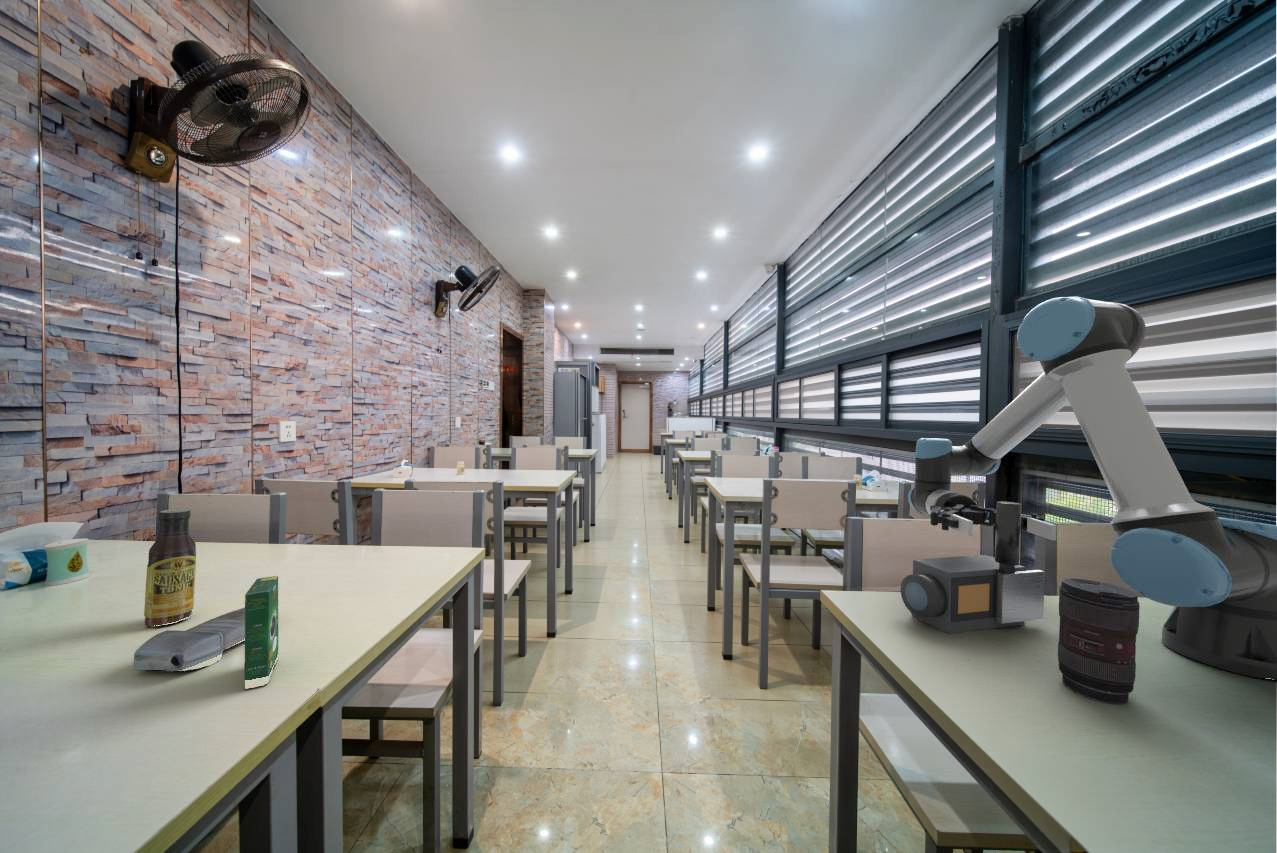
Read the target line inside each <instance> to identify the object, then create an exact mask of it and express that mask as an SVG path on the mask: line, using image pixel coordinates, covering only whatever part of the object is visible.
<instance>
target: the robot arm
mask: <svg viewBox="0 0 1277 853" xmlns="http://www.w3.org/2000/svg"><path fill="white" fill-rule="evenodd" d="M1146 328H1147V327H1146V322H1145V319H1144V318H1143V316H1142V315H1141V314H1140V313H1139V312H1138V310H1136V309H1134V308H1133V307H1131V306H1129V305H1127V304H1125V303H1119V302H1113V301H1103V300H1098V299H1097V300H1096V299H1089V298H1085V297H1081V296H1067V297H1066V296H1060V297H1054V298H1050V299H1048V300H1045V301H1043V302H1041V303H1039V304H1037V305H1036V306H1035V307H1033V308H1032V309H1031V310H1030V311H1029V312H1028V313H1027V314H1026V315H1025V316H1024V318H1023V320H1022V323H1021V324H1020V325H1019V326H1018V330H1017V334H1016V336H1017V337H1016V339H1017V340H1016V341H1017V342H1016V343H1017V346H1018V348H1019V350H1020V351H1021V352H1022V353H1023V354H1024V355H1025V356H1026V357H1028V358H1029V359H1031V360H1034V361H1039V363H1040V365H1041V368H1042V370H1043V372H1042V374H1040V375H1039V376H1038V377H1037V378H1036V379H1035V380H1034V381H1032V382H1031V384H1029V385H1028V386H1027V387H1026V388H1025V389H1024V390H1023V391H1022V392H1021V393H1020V394H1018V395H1017V397H1015V398H1014V399H1013V400H1012V401H1011V402H1010V403H1009V404H1008V405H1006V406H1005V407H1004V408H1003V409H1002V410H1001V411H1000V412H999V413H998V414H997V415H996V416H995V417H994V418H992V419H991V420H990V421H989V422H988V423H987V424H986V425H985V426H984V427H982V428H981V430H979V431H978V432H977V433H976V434H975V435H974V436H973V437H972V438H970V440H968V441H967V442H965V444H964V445H953V442H952V440H951V439H949V438H939V437H938V438H932V437H931V438H929V437H925V438H924V437H921V438H919V439H917V441H916V443H915V444H916V446H915V453H914V456H915V460H914V461H915V462H914V463H915V464H914V465H915V466H914V471H915V472H914V479H915V480H914V485H913V486H912V487H911V488H910V490H909V491H908V494H907V501H908V503H909V505H910V506H911V508H913V510H915V511H916V512H917V513H919V514H921V515H923V516H926V517H929V518H930V525H931V526H938V525H939V524H941V530H942V531H949V528H950V529H952V530H954V531H957V532H959V533H961V534H964V535H966V536H968V537H973V535H974V533H973V532H974V531H973V530H974V529H973V528H974V526H976V525H977V526H978V525H983V526H987V527H994V526H996V508H988V507H982V506H981V505H978V504H977V503H976V501H975V499H973V498H971V497H970V496H967V495H965V494H962V493H960V492H959V493H958V492H955V491H952V490H951V484H952V477H963V476H964V477H965V476H966V477H967V476H970V477H983V476H987V475H992V474H993V473H996V471H998V470H999V468H1000V465H1001V461H1002V460H1001V459H1002V458H1003V457H1004V456H1005V455H1007V454H1008V453H1009V452H1010V451H1011V450H1012V449H1014V448H1015V447H1016V446H1018V444H1021V442H1022V441H1023V440H1025V439H1026V438H1027V437H1028V436H1029V435H1031V434H1032V433H1033V432H1034V431H1036V430H1037V429H1038V428H1039V427H1041V426H1042V425H1043V424H1044V423H1046V422H1047V420H1048V421H1049V419H1051V417H1053V416H1054V415H1055V414H1056V413H1057V412H1058V411H1061V410H1062V408H1064V407H1065V406H1066V405H1068V404H1070V407H1071V408H1072V411H1073V413H1074V415H1075V418H1076V420H1077V423H1078V424H1079V427H1080V428H1081V431H1082V433H1083V436H1084V437H1085V440H1086V443H1087V444H1088V447H1089V449H1090V451H1091V453H1092V455H1093V458H1094V460H1095V462H1096V464H1097V467H1098V468H1099V471H1100V474H1101V476H1102V478H1103V480H1104V483H1105V484H1106V486H1107V489H1108V491H1109V493H1110V496H1111V499H1112V500H1113V502H1114V505H1115V506H1116V509H1117V513H1116V514H1115V515H1114V517H1113V518H1112V520H1111V521H1110V525H1111V527H1112V529H1113V531H1114V534H1115V536H1116V539H1115V540H1114V544H1113V546H1112V547H1111V548H1110V555H1109V556H1110V561H1111V562H1110V563H1111V566H1112V567H1113V570H1114V571H1115V573H1116V574H1117V576H1118V577H1119V579H1121V581H1122V582H1123V583H1124V584H1125V585H1126V586H1127V587H1128V588H1130V589H1131V590H1132V591H1133V592H1134V593H1136V594H1140V595H1141V596H1143V597H1144V598H1147V599H1148V600H1151V601H1154V602H1156V603H1159V604H1163V605H1167V606H1172V607H1173V608H1172V610H1171V611H1170V614H1169V615H1168V617H1167V619H1166V620H1165V622H1164V624H1163V626H1162V628H1161V642H1162V644H1164V645H1165V646H1166V647H1167V648H1168V649H1171V651H1173V652H1176V653H1178V654H1180V655H1182V656H1184V657H1187V658H1189V659H1191V660H1194V661H1197V662H1199V663H1202V664H1206V665H1208V666H1212V667H1214V668H1218V669H1221V670H1224V671H1227V672H1233V673H1236V674H1239V675H1244V676H1247V677H1248V676H1249V677H1252V678H1257V679H1261V678H1271V679H1274V680H1277V524H1270V523H1262V522H1254V521H1248V520H1240V519H1235V518H1234V519H1233V518H1227V517H1221V516H1219V517H1218V515H1217V514H1216V511H1215V510H1214V508H1211V507H1209V506H1206V505H1203V504H1201V503H1199V502H1196V501H1195V500H1194V499H1193V498H1192V496H1191V494H1190V492H1189V490H1188V488H1187V485H1186V484H1185V482H1184V480H1183V478H1182V476H1181V474H1180V472H1179V470H1178V469H1177V466H1176V465H1175V462H1174V461H1173V458H1172V456H1171V454H1170V453H1169V450H1168V448H1167V447H1166V444H1165V443H1164V441H1163V439H1162V436H1161V435H1160V433H1159V431H1158V429H1157V426H1156V425H1155V423H1154V422H1153V419H1152V417H1151V416H1150V413H1149V411H1148V409H1147V407H1146V405H1145V403H1144V401H1143V400H1142V398H1141V396H1140V394H1139V392H1138V390H1137V388H1136V386H1135V384H1134V382H1133V380H1132V378H1131V376H1130V374H1129V372H1128V370H1127V368H1126V366H1125V365H1126V363H1128V362H1129V361H1130V360H1131V359H1132V358H1133V357H1134V356H1135V355H1136V353H1137V352H1139V349H1140V348H1141V346H1142V345H1143V343H1144V341H1145V339H1146V338H1145V337H1146V335H1147V334H1146V333H1147V329H1146ZM987 520H988V521H987ZM1057 527H1058V526H1057V524H1053V523H1051V522H1046V519H1045V517H1042V516H1038V514H1037V513H1033V514H1031V515H1029V514H1024V513H1021V530H1025V531H1026V532H1027V533H1030V534H1034V535H1036V536H1039V537H1041V538H1044V539H1047V540H1049V541H1050V540H1051V541H1057Z"/></svg>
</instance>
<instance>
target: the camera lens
mask: <svg viewBox="0 0 1277 853" xmlns="http://www.w3.org/2000/svg"><path fill="white" fill-rule="evenodd" d="M1058 591H1059V593H1058V596H1059V597H1058V615H1059V616H1058V617H1059V626H1058V627H1059V630H1058V634H1059V635H1058V642H1057V660H1058V670H1059V671H1060V672H1061V674H1062V676H1061V677H1062V682H1063V685H1065V687H1067V688H1068V687H1069V688H1068V689H1070V690H1071V689H1072V690H1071V691H1072V692H1074V691H1075V692H1074V693H1076V692H1078V693H1080V694H1079V695H1081V694H1082V695H1081V696H1083V695H1084V696H1083V697H1085V696H1086V698H1088V697H1089V698H1088V699H1091V698H1092V699H1091V700H1094V699H1095V700H1094V701H1097V700H1098V701H1097V702H1101V701H1102V702H1101V703H1106V704H1114V705H1120V704H1126V703H1128V701H1129V697H1130V693H1132V692H1133V691H1134V685H1135V681H1136V671H1137V663H1136V657H1137V656H1136V655H1137V654H1136V652H1137V651H1136V650H1137V645H1136V643H1137V635H1138V633H1139V627H1140V602H1139V600H1138V599H1139V598H1138V593H1137V592H1135V591H1133V590H1130V589H1127V588H1124V587H1121V586H1118V585H1115V584H1110V583H1107V582H1101V581H1096V580H1089V579H1084V578H1081V579H1080V578H1073V577H1072V578H1064V579H1062V580H1061V585H1059V590H1058ZM1078 693H1077V694H1078Z"/></svg>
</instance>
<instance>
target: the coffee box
mask: <svg viewBox="0 0 1277 853" xmlns="http://www.w3.org/2000/svg"><path fill="white" fill-rule="evenodd" d="M244 608H245V642H244V663H243V664H244V665H243V666H244V671H243V672H244V674H243V676H244V677H243V680H252V679H256V678H262V677H266V676H269V674H270V672H271V670H272V667H273V665H274V663H275V660H276V658H277V655H278V656H279V576H277V575H276V576H275V575H274V576H266V577H265V576H264V577H260V578H259V577H258V578H256V580H254V582H253V584H252V585H251V586H250V588H249V589H248V590H247V591H246V593H245V594H244Z"/></svg>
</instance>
